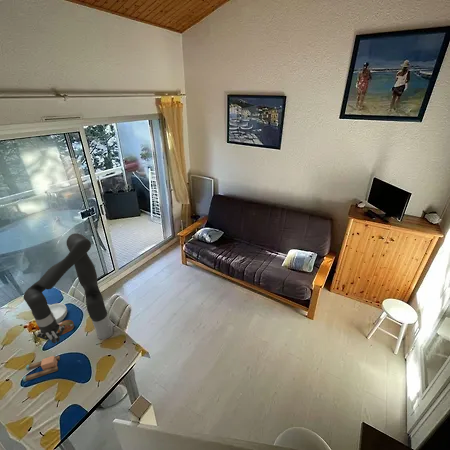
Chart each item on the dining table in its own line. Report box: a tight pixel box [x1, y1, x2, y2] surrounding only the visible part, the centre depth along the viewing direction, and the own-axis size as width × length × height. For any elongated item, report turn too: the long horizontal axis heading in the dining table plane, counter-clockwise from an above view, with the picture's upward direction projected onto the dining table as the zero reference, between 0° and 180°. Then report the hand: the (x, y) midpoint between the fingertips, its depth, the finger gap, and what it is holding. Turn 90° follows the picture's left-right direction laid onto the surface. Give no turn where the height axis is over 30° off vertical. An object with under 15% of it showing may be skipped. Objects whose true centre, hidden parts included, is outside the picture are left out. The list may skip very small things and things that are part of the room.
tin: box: [57, 319, 75, 336], centre depth 159 cm, size 15×3×8 cm, turn 126°
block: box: [40, 355, 59, 371], centre depth 140 cm, size 6×4×6 cm, turn 113°
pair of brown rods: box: [22, 355, 61, 383], centre depth 140 cm, size 16×9×2 cm, turn 113°
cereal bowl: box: [48, 302, 68, 324], centre depth 168 cm, size 17×17×7 cm
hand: (56, 341), depth 135 cm, fingers closed
